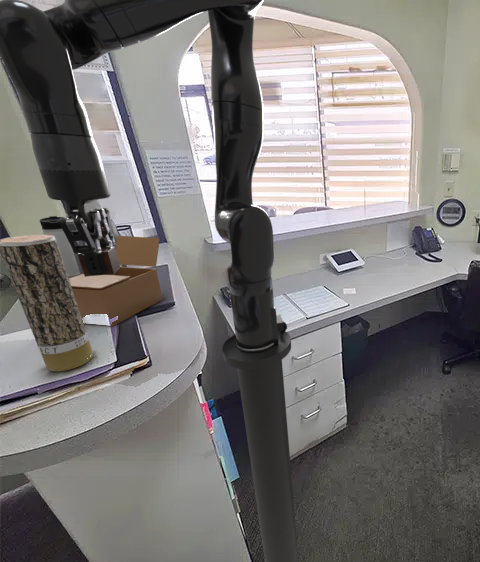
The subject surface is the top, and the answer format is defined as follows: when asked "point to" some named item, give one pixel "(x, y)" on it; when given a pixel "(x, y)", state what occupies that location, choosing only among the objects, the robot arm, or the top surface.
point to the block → (109, 260)
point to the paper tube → (47, 300)
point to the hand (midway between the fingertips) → (103, 270)
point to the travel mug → (61, 244)
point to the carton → (117, 292)
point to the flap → (137, 250)
